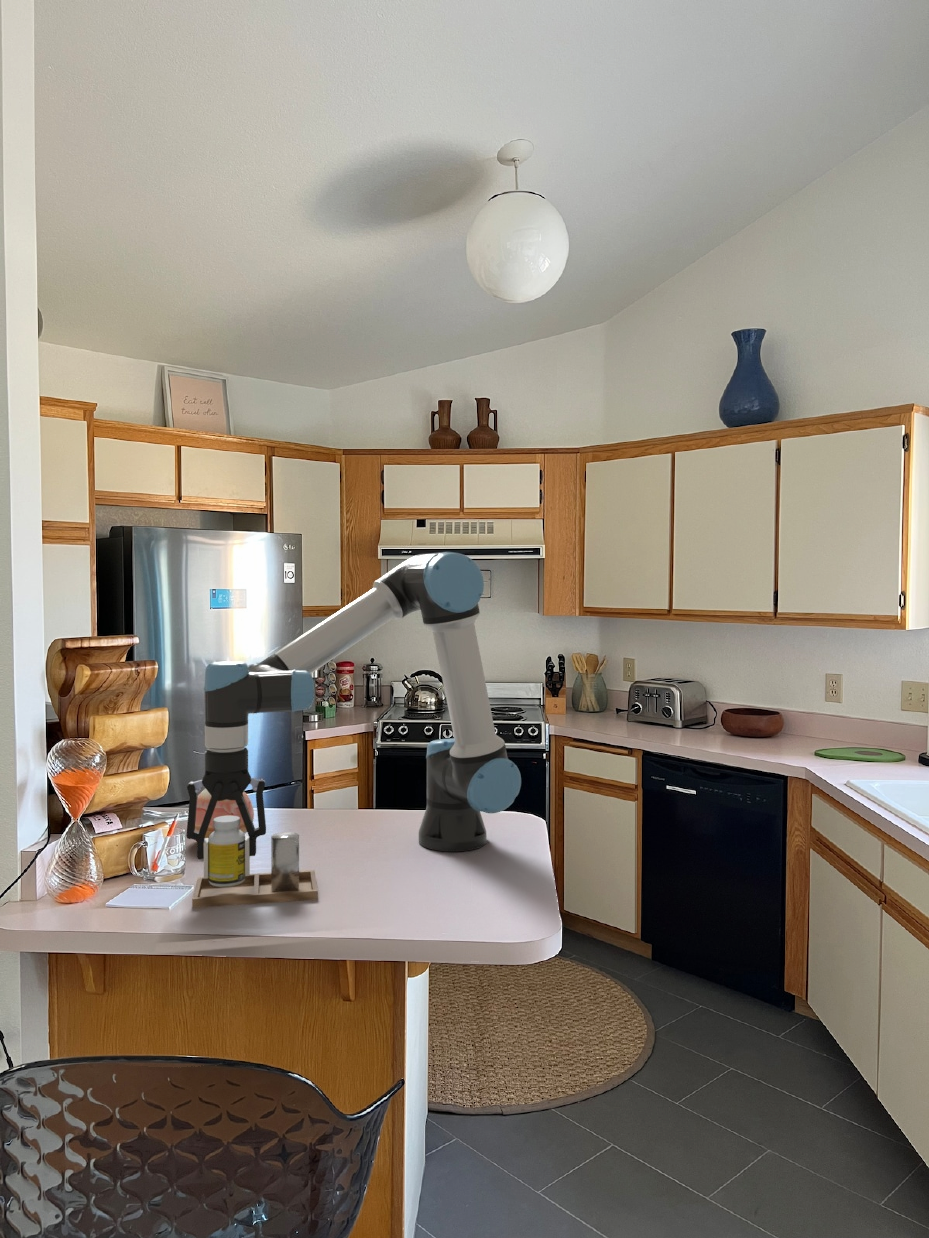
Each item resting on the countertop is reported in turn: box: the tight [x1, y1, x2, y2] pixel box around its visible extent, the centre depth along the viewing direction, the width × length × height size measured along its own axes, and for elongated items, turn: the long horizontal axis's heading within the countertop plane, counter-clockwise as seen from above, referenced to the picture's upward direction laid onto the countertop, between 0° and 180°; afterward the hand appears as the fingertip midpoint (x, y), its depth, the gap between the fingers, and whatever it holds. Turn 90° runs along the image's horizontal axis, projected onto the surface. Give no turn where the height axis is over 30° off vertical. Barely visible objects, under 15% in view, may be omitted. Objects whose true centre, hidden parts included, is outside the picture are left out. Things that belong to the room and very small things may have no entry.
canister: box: [270, 831, 300, 892], centre depth 162 cm, size 5×5×10 cm
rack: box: [191, 869, 319, 909], centre depth 161 cm, size 21×12×3 cm, turn 102°
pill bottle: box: [208, 816, 246, 887], centre depth 160 cm, size 6×6×12 cm
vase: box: [195, 787, 255, 838], centre depth 196 cm, size 14×14×18 cm
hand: (227, 874), depth 160 cm, fingers closed on pill bottle, 6 cm apart
